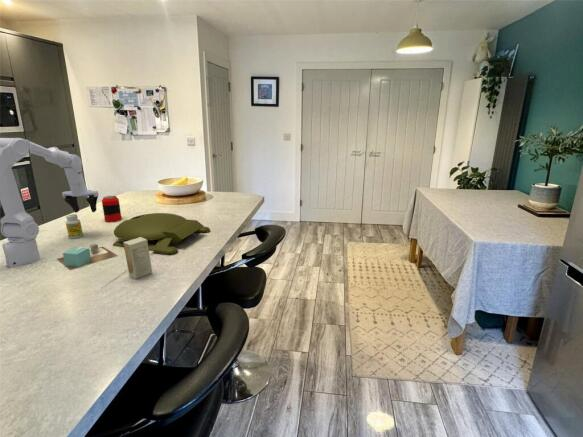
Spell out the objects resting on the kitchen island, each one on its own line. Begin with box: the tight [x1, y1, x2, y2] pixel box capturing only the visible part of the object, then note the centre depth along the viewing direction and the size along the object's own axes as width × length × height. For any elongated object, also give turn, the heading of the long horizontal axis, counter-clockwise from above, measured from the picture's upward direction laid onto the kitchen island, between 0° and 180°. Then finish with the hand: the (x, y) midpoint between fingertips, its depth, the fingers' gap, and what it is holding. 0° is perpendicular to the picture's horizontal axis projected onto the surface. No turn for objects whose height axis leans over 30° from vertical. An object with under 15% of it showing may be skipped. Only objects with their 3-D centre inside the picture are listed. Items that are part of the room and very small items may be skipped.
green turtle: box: [112, 212, 211, 256], centre depth 145 cm, size 35×31×10 cm
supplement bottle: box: [65, 213, 83, 239], centre depth 147 cm, size 5×5×10 cm
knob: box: [62, 246, 91, 268], centre depth 119 cm, size 6×6×5 cm
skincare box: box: [123, 237, 153, 280], centre depth 112 cm, size 6×4×12 cm
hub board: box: [56, 243, 119, 271], centre depth 124 cm, size 16×14×4 cm
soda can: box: [101, 195, 123, 223], centre depth 169 cm, size 8×8×12 cm
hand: (85, 211), depth 148 cm, fingers open, 7 cm apart
